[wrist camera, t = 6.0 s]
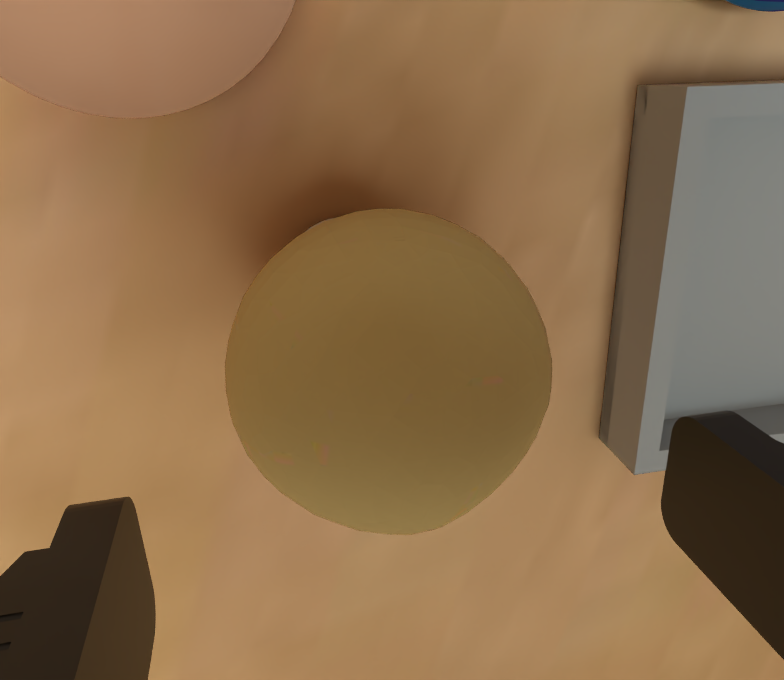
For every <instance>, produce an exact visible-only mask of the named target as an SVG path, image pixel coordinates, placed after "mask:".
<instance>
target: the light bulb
mask: <svg viewBox="0 0 784 680" xmlns="http://www.w3.org/2000/svg"><path fill="white" fill-rule="evenodd" d="M225 377H226V394H227V399H228V404H229V409H230V414H231V418H232V422H233V425H234V427H235V429H236V431H237V433H238V436H239V438H240V440H241V442H242V444H243V446H244V448H245V451H246V453H247V455H248V456H249V457H250V459H251V460H252V461H253V463H254V464H255V465H256V466H257V468H258V469H259V470H260V472H261V473H262V474H263V476H264V477H265V478H266V479H267V480H268V481H270V482H271V483H272V484H273V485H274V486H275V487H276V488H277V489H278V490H279V491H280V492H281V493H282V494H284V495H285V496H287V497H288V498H290V499H291V500H293V501H294V502H296V503H297V504H299V505H300V506H302V507H303V508H305V509H306V510H308V511H309V512H311V513H312V514H314V515H316V516H319V517H322V518H324V519H327V520H330V521H332V522H335V523H338V524H341V525H344V526H347V527H350V528H353V529H356V530H358V531H365V532H373V533H382V534H396V535H412V534H417V533H422V532H426V531H430V530H434V529H437V528H440V527H443V526H444V525H446V524H448V523H450V522H452V521H453V520H455V519H457V518H459V517H460V516H462V515H464V514H466V513H467V512H469V511H470V510H471V509H473V508H474V507H475V506H476V505H478V504H479V503H480V502H482V501H483V500H484V499H485V498H487V497H488V496H489V495H490V494H492V493H493V492H494V491H495V490H496V489H497V488H498V487H499V486H500V485H501V483H502V482H503V481H504V480H505V479H506V478H507V477H508V476H509V475H510V474H511V473H512V472H513V471H514V469H515V468H516V467H517V465H518V464H519V462H520V461H521V460H522V458H523V457H524V456H525V454H526V453H527V451H528V450H529V448H530V446H531V445H532V443H533V441H534V440H535V438H536V435H537V433H538V430H539V428H540V425H541V423H542V420H543V418H544V415H545V412H546V410H547V407H548V405H549V399H550V392H551V382H552V358H551V353H550V348H549V344H548V339H547V334H546V329H545V326H544V324H543V321H542V319H541V316H540V314H539V312H538V309H537V307H536V304H535V302H534V300H533V298H532V296H531V295H530V293H529V291H528V289H527V288H526V286H525V285H524V284H523V282H522V281H521V280H520V278H519V277H518V276H517V274H516V273H515V271H514V270H513V269H512V267H511V266H510V265H509V264H508V263H507V262H506V261H505V260H504V258H502V257H501V256H500V255H499V254H498V253H497V252H496V251H495V250H493V249H492V248H491V247H490V246H489V245H488V244H487V243H486V242H484V241H483V240H482V239H481V238H479V237H477V236H476V235H474V234H472V233H470V232H469V231H467V230H465V229H463V228H462V227H460V226H458V225H456V224H454V223H452V222H449V221H447V220H444V219H442V218H439V217H437V216H434V215H431V214H426V213H421V212H416V211H411V210H406V209H372V210H364V211H356V212H352V213H349V214H346V215H343V216H340V217H337V218H331V219H327V220H324V221H322V222H319V223H317V224H315V225H314V226H312V227H310V228H309V229H308V230H306V231H305V232H304V233H302V234H301V235H299V236H297V237H296V238H294V239H293V240H292V241H291V242H290V243H289V244H287V245H286V246H285V247H284V248H283V249H281V250H280V251H279V252H278V253H277V254H276V255H274V256H273V257H272V258H271V259H270V260H269V261H268V263H267V264H266V265H265V266H264V267H263V269H262V270H261V271H260V272H259V273H258V275H257V276H256V277H255V279H254V280H253V282H252V284H251V285H250V287H249V288H248V290H247V292H246V293H245V295H244V296H243V299H242V302H241V304H240V307H239V309H238V312H237V315H236V317H235V320H234V322H233V325H232V329H231V333H230V337H229V340H228V347H227V354H226V361H225Z"/></svg>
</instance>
